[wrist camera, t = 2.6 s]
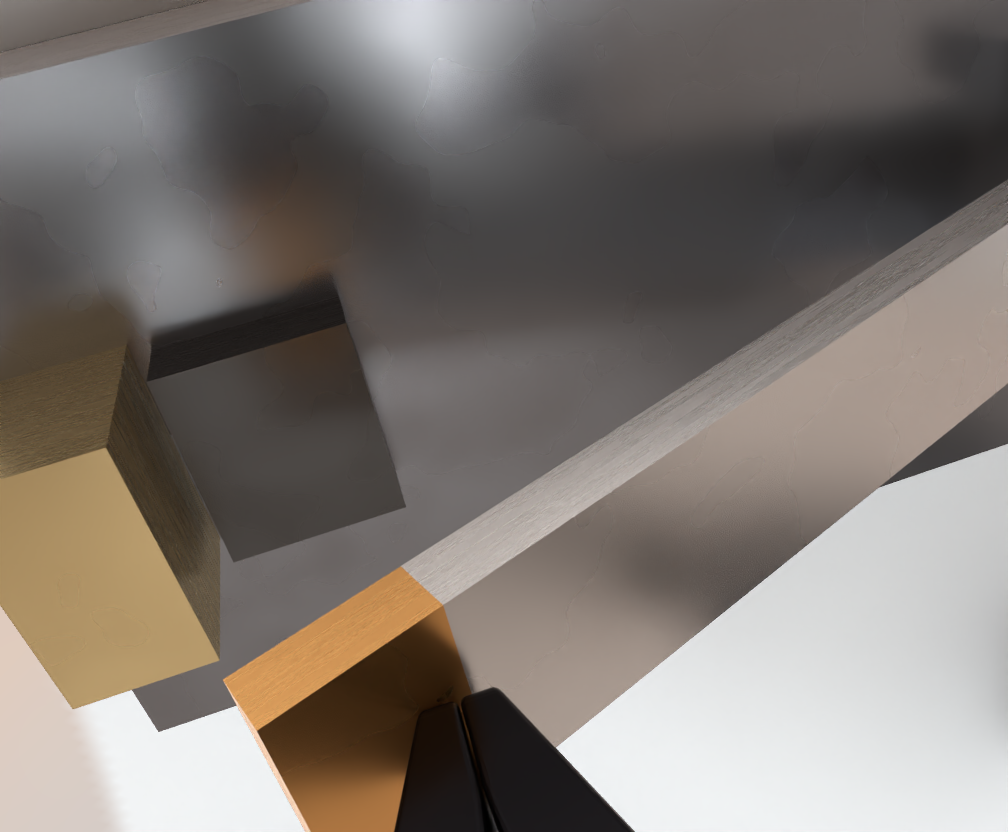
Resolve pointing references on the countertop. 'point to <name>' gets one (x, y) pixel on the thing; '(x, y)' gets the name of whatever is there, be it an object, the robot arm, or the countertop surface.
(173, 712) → the grey lever base
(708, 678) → the countertop surface
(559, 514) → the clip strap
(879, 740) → the countertop surface
